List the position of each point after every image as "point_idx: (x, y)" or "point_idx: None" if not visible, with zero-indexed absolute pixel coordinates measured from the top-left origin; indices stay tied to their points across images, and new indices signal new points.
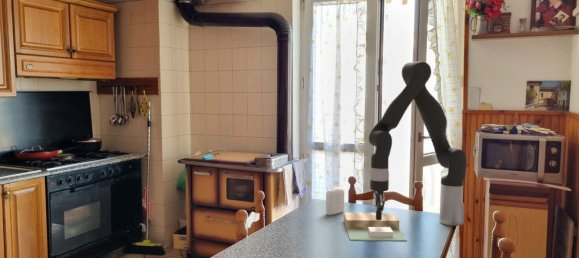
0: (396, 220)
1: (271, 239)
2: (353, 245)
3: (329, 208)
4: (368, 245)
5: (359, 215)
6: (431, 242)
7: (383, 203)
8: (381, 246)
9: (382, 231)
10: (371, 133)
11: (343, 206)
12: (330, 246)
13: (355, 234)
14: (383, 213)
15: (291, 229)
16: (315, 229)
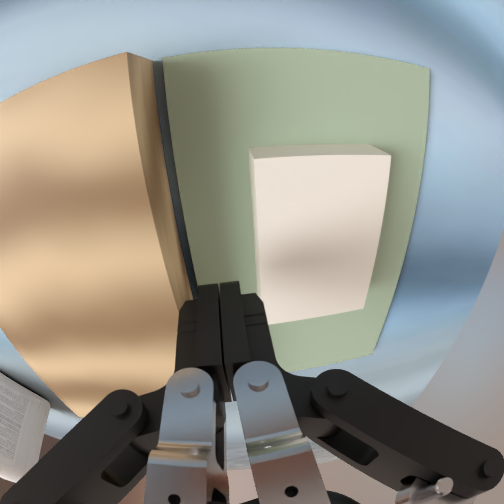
0: (120, 87)
1: (321, 451)
2: (421, 331)
3: (44, 425)
4: (439, 285)
5: (90, 379)
6: None
7: (485, 455)
8: (464, 233)
9: (374, 238)
10: None
11: None
12: (404, 377)
13: (309, 348)
14: None
15: (245, 453)
16: (235, 431)
